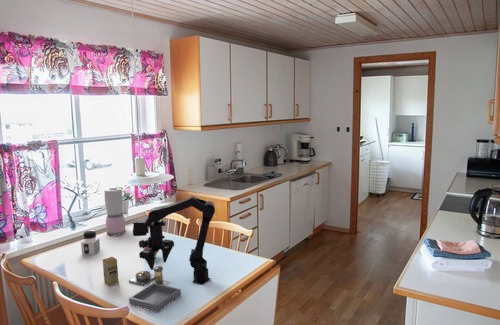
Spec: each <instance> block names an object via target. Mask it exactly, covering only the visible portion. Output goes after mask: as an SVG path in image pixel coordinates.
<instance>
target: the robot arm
mask: <svg viewBox="0 0 500 325" xmlns="http://www.w3.org/2000/svg"><path fill="white" fill-rule="evenodd" d="M215 206H216V205H215V203H214V202H213V201H209V200H208V201H206V200H205V199H201V198H198V197H196V196H190V197H188V198H185V199H183V200H179V201H177V202H173V203H171V204H168V205H165V206H164V205H162V206H161V205H160V206H154V207H153V208H151V209H150V211H149V213H148V214H147V215H148V216H147V218H146V220H143V221H142V220H141V221H137V220H136V221H134V222H132V224H133V226H132V236H134V237H141V236H143V237H144V236H147V234H149V237H148V238H147V239H145V240H144V239H142V240H139V241H138V246H139V248H140V249H142V250H141V251H139V256H138V257H139V258H140V259H144V260H145V261H146V263H147V264H148V267H149V268H150V271H154V267H155V261H156V258H155V257H154V255H155V252H156V251H158V250H159V251H161V253H162V261H163V263H167V260H168V258H169V255H170V254H171V251H172V249H173V248H174V247H175V242H174V240H171V239H165V235H163V233H164V232H163V227H164V226H166V224H167V222H166V221H164V218H166V217H167V216H170V215H172V214H174V213H177V212H179V211H183V210H185V209H189V208H195V209H196V210H198V211H199V212H201V213H202V217H201V218H202V219H201V224H200V228H199V232H198V233H199V234H198V236H197V241H196V244H195V247H194V248H191V250H190V255H189V259H188V261H189V264H190V266H191V268H193V272H192V273H193V280H192V283H194V284H195V283H196V284H199V285H205V284H207V283H208V282H209V281H210V280H211V278H210V277H209V268H208V261H207V259H205V258H204V257H203V254H204V247H205V243H206V239H207V235H208V232H209V226H210V222H212V220H213V217H214V215H215V213H216V207H215ZM145 247H148V248H151V250H148V249H145V250H144V248H145Z"/></svg>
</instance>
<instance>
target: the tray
mask: <svg viewBox="0 0 500 325" xmlns="http://www.w3.org/2000/svg"><path fill="white" fill-rule="evenodd" d="M151 283H152V282H151ZM148 285H149V284H148ZM148 285H147V286H146V287H144V288H142V289H141V290H140V291H137V292H135V294H133V295H131V296H130V297H128V301H129V302H128V304H129V305H130V304H131V305H130V306H133V305H135V306H134V307H136V306H139V307H138V308H140V307H142V308H141V309H143V308H146V309H145V310H147V309H149V310H148V311H150V310H153V311H152V312H154V311H156V312H155V313H157V312H158V311H159V312H161V311H162V310H164V309H165V308H166V307H168V306H169V305H170V304H172V303H173V302H174V301H176V300H177V299H179V298H180V297H181V296H182V292H181V288H177V287H173V286H169V285H164V284H162V285H161V284H157V283H155V282H154V283H152V284H151V285H149V286H148ZM180 295H181V296H180ZM179 296H180V297H179ZM176 298H177V299H176ZM175 299H176V300H175ZM172 301H173V302H172ZM171 302H172V303H171ZM169 303H170V304H169ZM168 304H169V305H168ZM167 305H168V306H167ZM165 306H166V307H165ZM164 307H165V308H164ZM161 309H162V310H161ZM160 310H161V311H160ZM159 312H158V313H159Z"/></svg>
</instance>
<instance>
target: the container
mask: <svg viewBox="0 0 500 325" xmlns="http://www.w3.org/2000/svg"><path fill="white" fill-rule="evenodd" d="M100 244H101V243H100V237H97V234H96V231H95V230H92V229H90V230H86V231H84V232H83V240H82V241H81V242H80V246H81V248H80V249H81V256H84V255H86V256H88V255H89V256H90V255H91V256H92V255H94V256H95V255H96V254H98V252H100V251H101V245H100Z"/></svg>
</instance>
